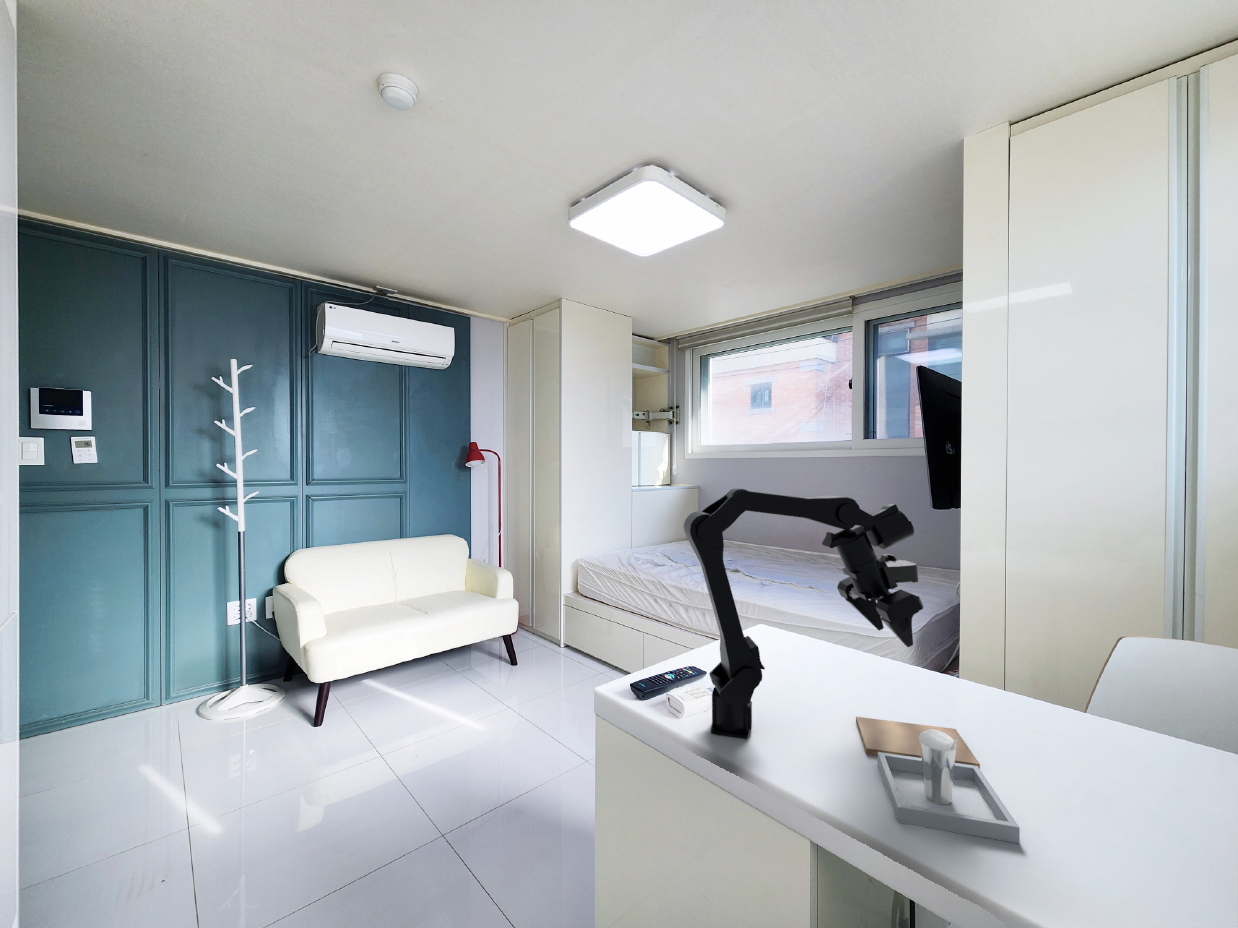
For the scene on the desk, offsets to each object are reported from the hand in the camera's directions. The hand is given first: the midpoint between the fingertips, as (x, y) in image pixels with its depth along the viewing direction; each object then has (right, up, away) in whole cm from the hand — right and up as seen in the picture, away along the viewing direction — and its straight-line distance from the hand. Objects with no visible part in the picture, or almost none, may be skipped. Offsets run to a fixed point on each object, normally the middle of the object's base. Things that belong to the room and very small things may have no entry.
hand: (894, 637), depth 94 cm
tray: (-5, -16, -21) cm, 27 cm away
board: (-1, -16, -7) cm, 17 cm away
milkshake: (-5, -16, -21) cm, 27 cm away
